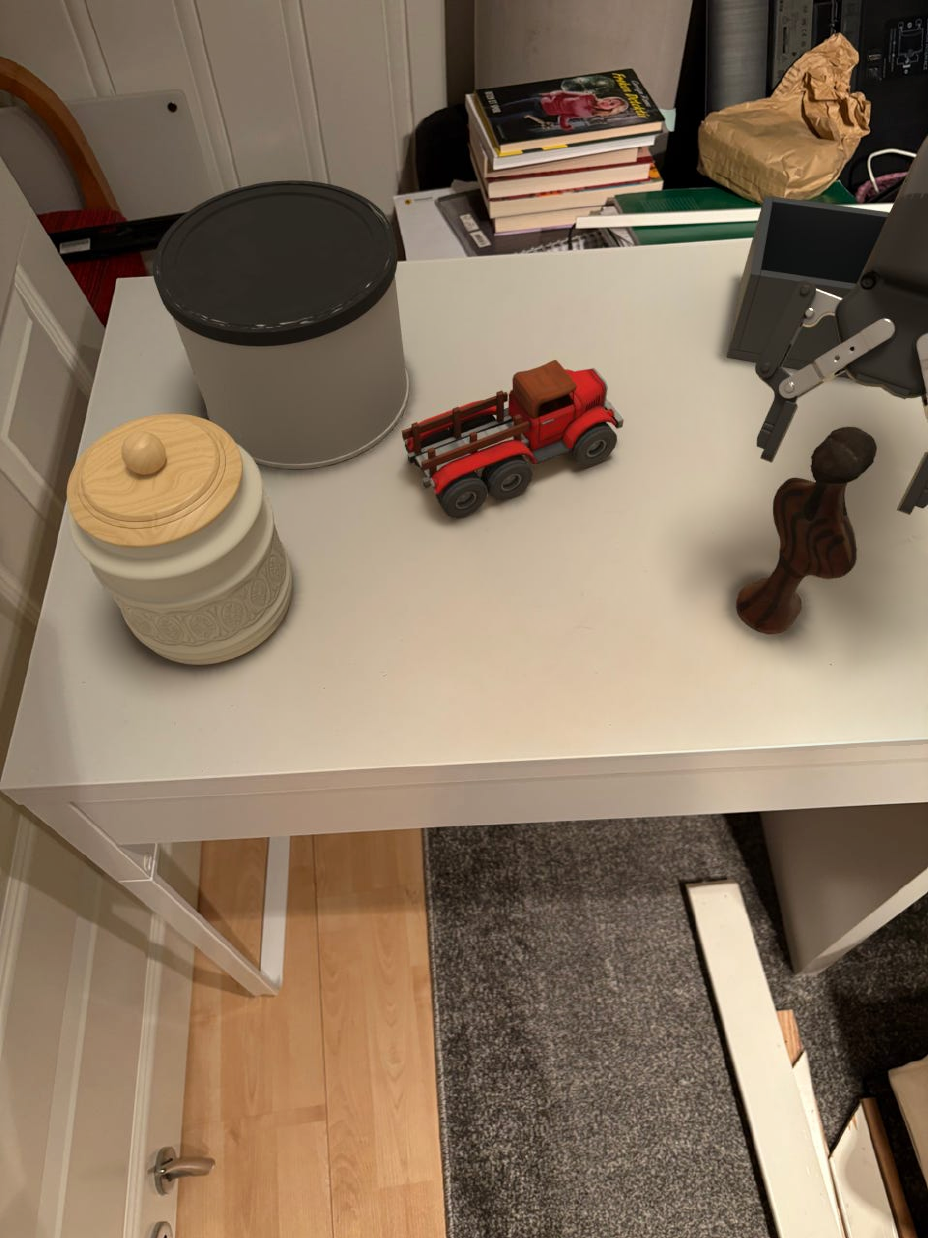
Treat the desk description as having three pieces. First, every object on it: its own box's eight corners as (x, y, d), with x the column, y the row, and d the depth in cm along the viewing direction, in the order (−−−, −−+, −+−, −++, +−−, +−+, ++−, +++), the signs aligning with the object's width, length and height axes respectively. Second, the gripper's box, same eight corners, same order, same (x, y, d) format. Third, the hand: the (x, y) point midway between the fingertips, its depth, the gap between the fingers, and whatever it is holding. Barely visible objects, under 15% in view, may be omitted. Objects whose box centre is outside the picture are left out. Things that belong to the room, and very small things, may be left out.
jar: (119, 676, 66) (9, 529, 51) (140, 538, 73) (48, 372, 58) (293, 662, 66) (235, 512, 51) (298, 525, 73) (248, 358, 58)
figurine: (830, 632, 66) (932, 469, 51) (777, 661, 65) (865, 503, 50) (766, 562, 70) (843, 391, 54) (715, 589, 68) (779, 420, 53)
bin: (861, 297, 86) (897, 212, 78) (855, 378, 80) (893, 295, 73) (741, 279, 88) (764, 194, 80) (726, 357, 82) (750, 273, 75)
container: (180, 463, 77) (118, 322, 64) (234, 320, 87) (190, 173, 74) (393, 478, 75) (373, 336, 63) (424, 330, 85) (412, 182, 73)
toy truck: (625, 452, 76) (639, 380, 69) (437, 529, 72) (431, 460, 65) (579, 395, 80) (587, 321, 73) (398, 464, 76) (389, 393, 69)
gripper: (840, 158, 48) (716, 442, 53) (1121, 233, 44) (961, 534, 49) (838, 198, 55) (728, 447, 60) (1081, 266, 51) (944, 527, 55)
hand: (833, 486), depth 54 cm, fingers open, 8 cm apart
